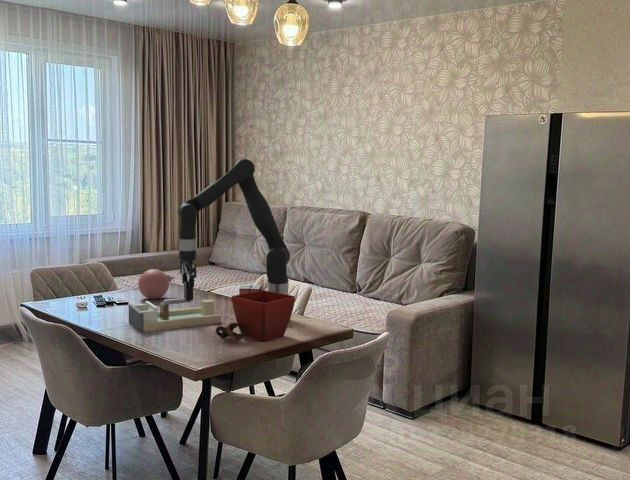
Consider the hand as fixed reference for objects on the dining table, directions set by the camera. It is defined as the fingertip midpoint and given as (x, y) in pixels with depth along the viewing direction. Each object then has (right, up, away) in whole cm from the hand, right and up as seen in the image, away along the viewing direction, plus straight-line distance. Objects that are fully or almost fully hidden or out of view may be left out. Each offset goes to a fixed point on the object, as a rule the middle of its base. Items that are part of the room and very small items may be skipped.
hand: (188, 285), depth 280 cm
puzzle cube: (+24, -13, +33) cm, 43 cm away
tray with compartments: (-5, -16, 0) cm, 17 cm away
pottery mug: (+22, -20, -27) cm, 41 cm away
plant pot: (+35, -20, -20) cm, 45 cm away
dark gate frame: (-5, -14, -1) cm, 15 cm away
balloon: (-25, -10, +48) cm, 55 cm away
